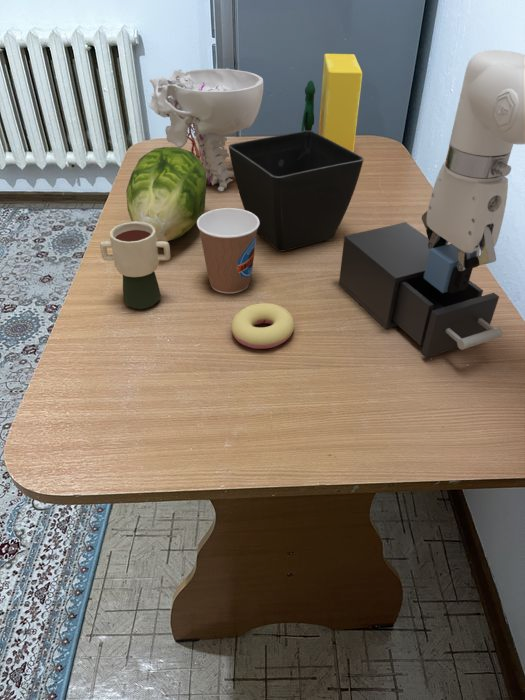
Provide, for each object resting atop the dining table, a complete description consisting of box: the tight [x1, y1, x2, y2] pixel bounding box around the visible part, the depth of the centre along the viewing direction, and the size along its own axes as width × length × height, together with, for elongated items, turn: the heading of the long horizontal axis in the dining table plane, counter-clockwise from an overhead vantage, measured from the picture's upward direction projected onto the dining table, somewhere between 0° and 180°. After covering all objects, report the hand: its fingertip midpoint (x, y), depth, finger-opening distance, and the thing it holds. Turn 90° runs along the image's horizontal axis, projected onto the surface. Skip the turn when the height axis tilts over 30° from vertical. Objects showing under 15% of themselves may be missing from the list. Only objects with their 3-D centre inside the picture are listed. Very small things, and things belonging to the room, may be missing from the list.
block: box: [424, 243, 470, 293], centre depth 82 cm, size 4×4×5 cm
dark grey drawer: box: [392, 275, 503, 359], centre depth 86 cm, size 18×11×8 cm, turn 25°
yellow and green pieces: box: [300, 53, 363, 152], centre depth 136 cm, size 18×12×24 cm
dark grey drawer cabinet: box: [338, 222, 430, 330], centre depth 95 cm, size 15×13×10 cm
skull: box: [149, 68, 264, 192], centre depth 127 cm, size 25×19×23 cm
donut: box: [231, 302, 295, 350], centre depth 88 cm, size 10×5×9 cm
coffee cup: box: [196, 207, 260, 295], centre depth 96 cm, size 10×10×12 cm
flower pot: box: [228, 130, 365, 252], centre depth 110 cm, size 19×19×17 cm
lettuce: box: [125, 146, 208, 242], centre depth 110 cm, size 15×27×16 cm, turn 177°
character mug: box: [99, 221, 171, 309], centre depth 92 cm, size 11×7×13 cm, turn 92°
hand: (445, 280), depth 84 cm, fingers closed on block, 4 cm apart
